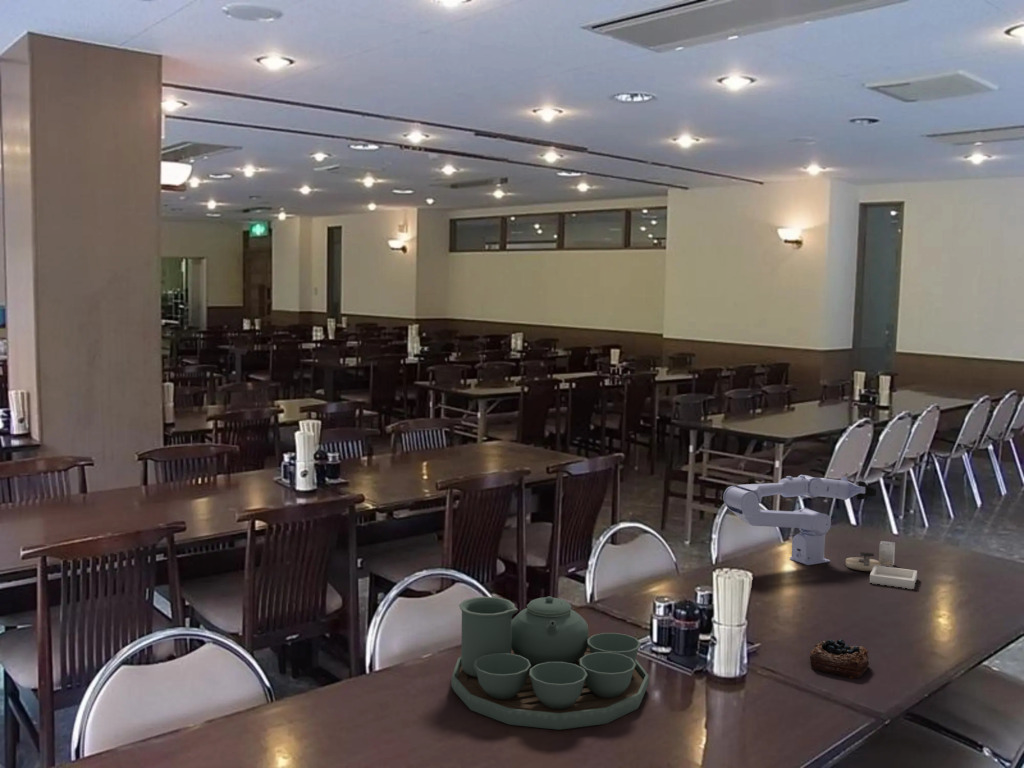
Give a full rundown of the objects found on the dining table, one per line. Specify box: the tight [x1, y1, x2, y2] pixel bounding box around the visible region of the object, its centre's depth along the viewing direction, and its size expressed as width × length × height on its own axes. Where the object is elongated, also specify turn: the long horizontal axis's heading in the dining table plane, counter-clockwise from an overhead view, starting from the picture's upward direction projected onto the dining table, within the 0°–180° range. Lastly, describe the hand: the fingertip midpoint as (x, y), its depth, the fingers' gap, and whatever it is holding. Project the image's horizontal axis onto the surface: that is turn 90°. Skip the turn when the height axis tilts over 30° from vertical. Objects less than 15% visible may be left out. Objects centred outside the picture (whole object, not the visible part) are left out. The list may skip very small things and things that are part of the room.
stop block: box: [878, 540, 896, 567], centre depth 280 cm, size 4×4×7 cm
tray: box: [869, 565, 918, 590], centre depth 264 cm, size 12×12×2 cm
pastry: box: [809, 638, 870, 680], centre depth 200 cm, size 11×12×6 cm
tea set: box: [450, 595, 650, 731], centre depth 187 cm, size 40×40×16 cm
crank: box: [844, 551, 881, 572], centre depth 278 cm, size 10×10×5 cm
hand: (866, 492), depth 290 cm, fingers open, 7 cm apart
